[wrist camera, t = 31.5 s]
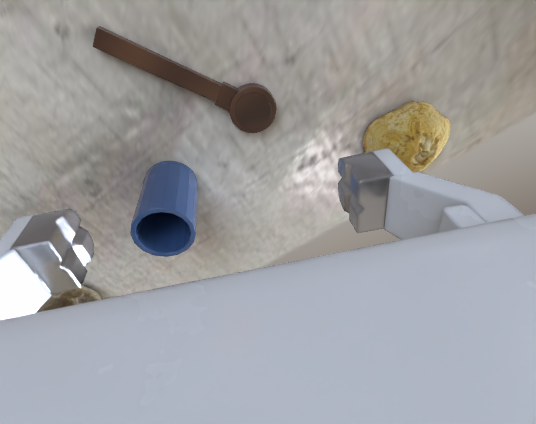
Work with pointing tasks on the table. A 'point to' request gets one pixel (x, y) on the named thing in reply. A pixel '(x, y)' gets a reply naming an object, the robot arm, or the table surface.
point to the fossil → (409, 134)
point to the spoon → (196, 82)
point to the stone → (70, 298)
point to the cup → (166, 210)
